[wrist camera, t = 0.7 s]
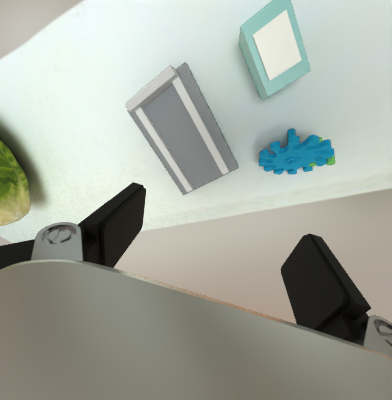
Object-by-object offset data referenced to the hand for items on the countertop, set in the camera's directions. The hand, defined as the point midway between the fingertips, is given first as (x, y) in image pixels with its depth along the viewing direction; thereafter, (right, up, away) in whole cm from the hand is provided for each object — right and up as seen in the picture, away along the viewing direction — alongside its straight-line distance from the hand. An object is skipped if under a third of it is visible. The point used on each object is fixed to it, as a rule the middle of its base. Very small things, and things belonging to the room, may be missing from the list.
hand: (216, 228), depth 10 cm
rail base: (-3, +13, +22) cm, 25 cm away
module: (+9, +22, +15) cm, 28 cm away
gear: (+15, +10, +20) cm, 27 cm away
